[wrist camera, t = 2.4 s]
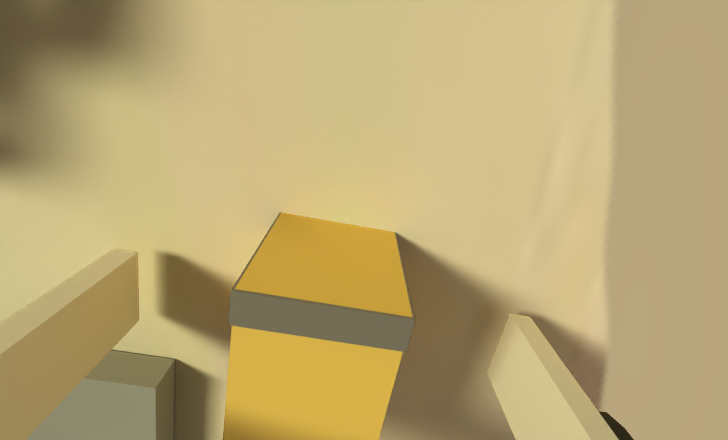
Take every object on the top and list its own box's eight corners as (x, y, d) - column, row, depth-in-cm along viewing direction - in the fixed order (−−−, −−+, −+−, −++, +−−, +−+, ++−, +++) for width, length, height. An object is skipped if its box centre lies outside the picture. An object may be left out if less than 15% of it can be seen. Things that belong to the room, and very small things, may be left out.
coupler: (263, 351, 15) (216, 479, 10) (280, 212, 13) (230, 290, 8) (364, 366, 15) (365, 498, 10) (395, 232, 13) (415, 320, 8)
